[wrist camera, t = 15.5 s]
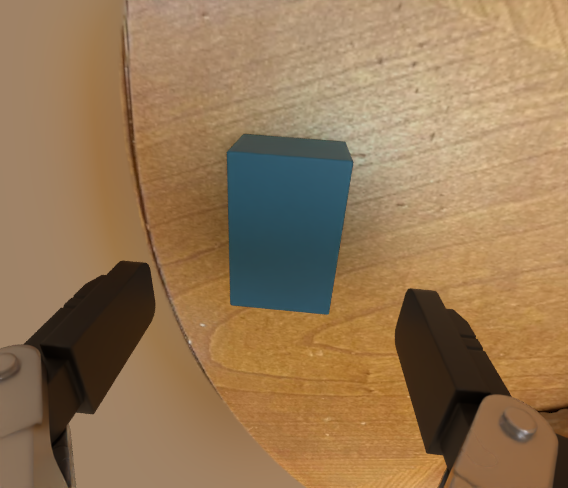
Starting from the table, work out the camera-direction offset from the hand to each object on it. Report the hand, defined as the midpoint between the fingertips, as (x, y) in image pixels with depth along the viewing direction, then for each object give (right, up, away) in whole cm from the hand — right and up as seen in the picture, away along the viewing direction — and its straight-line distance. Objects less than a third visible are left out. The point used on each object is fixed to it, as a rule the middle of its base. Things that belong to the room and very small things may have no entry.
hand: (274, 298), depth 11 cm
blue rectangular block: (+1, +3, +6) cm, 7 cm away
